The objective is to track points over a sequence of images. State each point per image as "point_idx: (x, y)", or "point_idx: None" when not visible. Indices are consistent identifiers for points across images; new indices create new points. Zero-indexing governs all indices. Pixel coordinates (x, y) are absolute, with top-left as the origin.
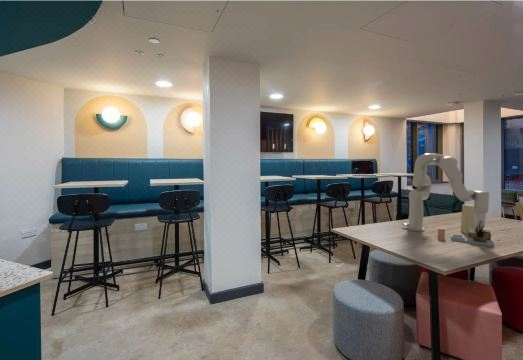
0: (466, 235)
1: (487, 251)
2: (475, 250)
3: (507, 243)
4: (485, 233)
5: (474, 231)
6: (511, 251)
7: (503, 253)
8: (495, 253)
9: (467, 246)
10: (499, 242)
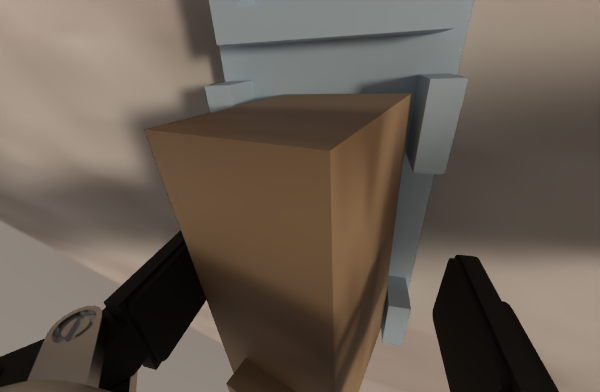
0: (463, 76)
1: (76, 213)
2: (17, 139)
3: (419, 382)
4: (238, 355)
5: (225, 253)
6: (200, 328)
7: (120, 282)
8: (78, 245)
9: (68, 78)
10: (428, 352)
